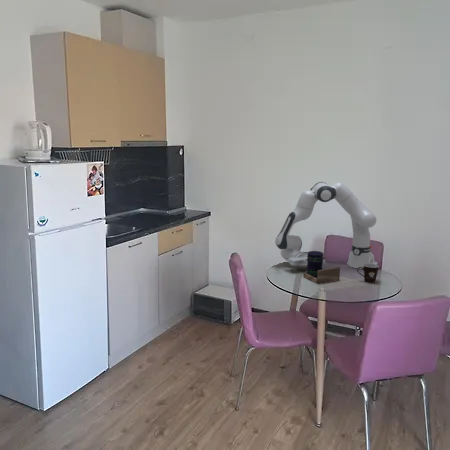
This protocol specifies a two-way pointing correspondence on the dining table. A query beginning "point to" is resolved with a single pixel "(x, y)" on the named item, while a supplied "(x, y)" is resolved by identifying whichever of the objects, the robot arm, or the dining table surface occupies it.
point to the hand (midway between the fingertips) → (310, 263)
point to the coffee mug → (369, 272)
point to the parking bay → (325, 275)
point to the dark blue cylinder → (314, 262)
